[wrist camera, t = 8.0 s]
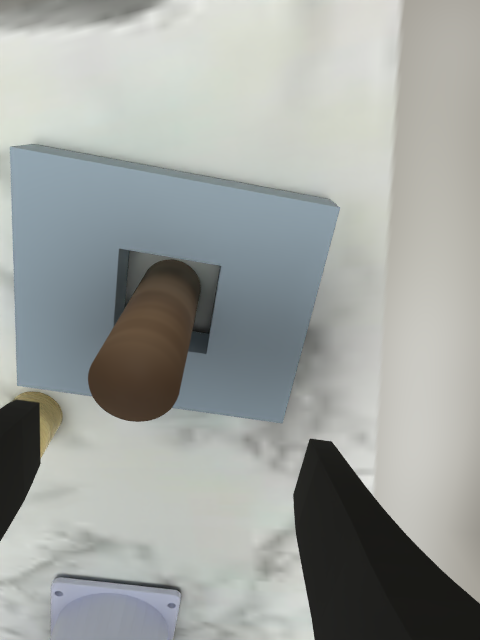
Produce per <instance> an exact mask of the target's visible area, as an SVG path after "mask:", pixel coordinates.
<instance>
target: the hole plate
mask: <svg viewBox="0 0 480 640" xmlns="http://www.w3.org/2000/svg"><path fill="white" fill-rule="evenodd" d="M10 162H11V195H12V228H13V261H14V294H15V327H16V360H17V386H23V387H30V388H37V389H44V390H51V391H58V392H65V393H72V394H79V395H86V396H92V394H91V392H90V389H89V385H88V373H89V369H90V366H91V364H92V362H93V361H94V359H95V357H96V356H97V354H98V352H99V351H100V349H101V347H102V346H103V344H104V342H105V341H106V339H107V337H108V336H109V334H110V332H111V331H112V329H113V327H114V326H115V324H116V322H117V321H118V319H119V317H120V316H121V314H122V312H123V311H124V309H125V296H126V283H127V271H128V258H129V250H131V251H136V252H142V253H148V254H154V255H160V256H166V257H172V258H178V259H184V260H189V261H195V262H201V263H207V264H213V265H219V266H220V271H219V277H218V283H217V289H216V295H215V301H214V307H213V313H212V319H211V325H210V331H209V334H207V333H201V332H194V331H192V335H191V340H190V344H189V349H188V354H187V359H186V363H185V368H184V373H183V378H182V382H181V387H180V392H179V396H178V399H177V401H176V402H175V404H174V405H173V407H172V408H178V409H185V410H192V411H199V412H206V413H213V414H220V415H227V416H234V417H241V418H248V419H255V420H262V421H269V422H276V423H283V419H284V415H285V412H286V408H287V404H288V400H289V397H290V393H291V389H292V386H293V382H294V378H295V374H296V371H297V367H298V363H299V359H300V356H301V352H302V348H303V344H304V341H305V337H306V333H307V330H308V326H309V322H310V318H311V315H312V311H313V307H314V303H315V300H316V296H317V292H318V288H319V285H320V281H321V277H322V273H323V270H324V266H325V262H326V259H327V255H328V251H329V247H330V244H331V240H332V236H333V232H334V229H335V225H336V221H337V217H338V214H339V210H340V207H339V206H337V205H336V204H335V203H334V202H333V201H331V200H330V199H326V198H321V197H316V196H310V195H305V194H300V193H294V192H289V191H283V190H278V189H273V188H267V187H262V186H256V185H251V184H246V183H240V182H235V181H230V180H224V179H219V178H213V177H208V176H203V175H197V174H192V173H186V172H181V171H176V170H170V169H165V168H160V167H154V166H149V165H143V164H138V163H133V162H127V161H122V160H117V159H111V158H106V157H100V156H95V155H90V154H84V153H79V152H73V151H68V150H63V149H57V148H52V147H47V146H41V145H36V144H30V145H21V146H12V147H10Z"/></svg>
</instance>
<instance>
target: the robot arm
mask: <svg viewBox="0 0 480 640" xmlns="http://www.w3.org/2000/svg"><path fill="white" fill-rule="evenodd" d="M39 466H40V403H39V402H32V401H24V400H17V399H15V400H14V401H12V402H10V403H9V404H7V405H5V406H4V407H2V408H1V409H0V541H1V539H2V538H3V536H4V534H5V533H6V531H7V529H8V528H9V526H10V524H11V522H12V521H13V519H14V517H15V516H16V514H17V512H18V511H19V509H20V507H21V505H22V504H23V502H24V500H25V498H26V496H27V494H28V491H29V489H30V487H31V485H32V483H33V480H34V478H35V475H36V473H37V471H38V468H39ZM293 497H294V516H295V529H296V536H297V542H298V548H299V553H300V559H301V564H302V569H303V575H304V580H305V585H306V591H307V596H308V601H309V607H310V612H311V617H312V624H313V630H314V637H315V640H480V604H479V603H478V602H477V601H476V600H475V599H474V598H472V597H471V596H470V595H469V594H468V593H467V592H466V591H464V590H463V589H462V588H461V587H460V586H458V585H457V584H456V583H455V582H454V581H453V580H452V579H451V578H450V577H448V576H447V575H446V574H445V573H444V572H443V571H442V570H441V569H440V568H439V567H438V566H437V565H436V564H435V563H434V562H433V561H432V560H431V559H430V558H429V557H428V556H426V554H425V553H424V552H423V551H421V549H419V547H417V545H416V544H415V543H414V542H413V541H412V540H411V539H410V538H409V537H408V536H407V535H406V534H405V533H404V532H403V530H401V528H400V527H399V526H398V525H397V524H396V523H395V521H394V520H393V519H392V518H391V517H390V516H389V515H388V514H387V512H386V511H385V510H384V509H383V508H382V507H381V505H380V504H379V503H378V502H377V500H376V499H375V498H374V497H373V495H372V494H371V493H370V492H369V490H368V489H367V488H366V487H365V485H364V484H363V483H362V481H361V480H360V479H359V477H358V476H357V475H356V473H355V472H354V471H353V469H352V468H351V467H350V465H349V464H348V463H347V461H346V460H345V459H344V457H343V456H342V455H341V453H340V452H339V451H338V449H337V448H336V447H335V445H334V444H333V443H332V442H331V441H324V440H316V439H310V440H309V443H308V447H307V450H306V453H305V457H304V460H303V464H302V467H301V470H300V474H299V477H298V481H297V484H296V488H295V491H294V494H293ZM180 601H181V593H180V592H179V591H177V590H172V589H163V588H154V587H145V586H136V585H126V584H117V583H108V582H99V581H90V580H81V579H71V578H62V577H59V578H56V579H54V580H53V583H52V585H51V638H50V640H173V637H174V632H175V627H176V622H177V616H178V611H179V606H180Z"/></svg>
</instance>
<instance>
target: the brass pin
mask: <svg viewBox="0 0 480 640" xmlns="http://www.w3.org/2000/svg"><path fill="white" fill-rule="evenodd" d="M15 399H17V400H24V401H32V402H39V403H40V459H41V457H42V455H43V454H44V452H45V450H46V448H47V447H48V445H49V443H50V441H51V440H52V438H53V436H54V435H55V433H56V431H57V429H58V428H59V426H60V424H61V422H62V418H63V415H62V410H61V408H60V406H59V405H58V403H57V402H56V401H55V400H54V399H52V398H51V397H49V396H48V395H45V394H43V393H39V392H25V393H22V394H20V395H18V396H17V397H16V398H15ZM15 399H14V400H15ZM14 400H13V401H14Z"/></svg>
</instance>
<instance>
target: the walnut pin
mask: <svg viewBox="0 0 480 640" xmlns="http://www.w3.org/2000/svg"><path fill="white" fill-rule="evenodd" d="M200 292H201V285H200V281H199V278H198V276H197V274H196V273H195V271H194V270H193V269H192V268H191V267H190V266H188V265H187V264H185V263H183V262H180V261H177V260H163V261H160V262H158V263H156V264H154V265H153V266H151V267H150V268H149V269H148V271H147V272H146V274H145V276H144V277H143V279H142V281H141V282H140V284H139V286H138V287H137V289H136V291H135V292H134V294H133V296H132V297H131V299H130V301H129V302H128V304H127V306H126V307H125V309H124V311H123V312H122V314H121V316H120V317H119V319H118V321H117V322H116V324H115V326H114V327H113V329H112V331H111V332H110V334H109V336H108V337H107V339H106V341H105V342H104V344H103V346H102V347H101V349H100V351H99V352H98V354H97V356H96V357H95V359H94V361H93V362H92V364H91V366H90V369H89V373H88V385H89V389H90V392H91V394H92V396H93V398H94V399H95V401H96V402H97V403H98V404H99V406H100V407H101V408H103V409H104V410H105V411H106V412H108V413H109V414H111V415H113V416H115V417H117V418H120V419H123V420H128V421H136V422H140V421H149V420H153V419H156V418H158V417H160V416H162V415H164V414H165V413H167V412H168V411H169V410H170V409H171V408H172V407H173V405H174V404H175V402H176V401H177V399H178V396H179V392H180V387H181V382H182V378H183V373H184V368H185V363H186V359H187V354H188V349H189V344H190V340H191V335H192V330H193V326H194V321H195V316H196V311H197V307H198V302H199V297H200Z"/></svg>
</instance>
